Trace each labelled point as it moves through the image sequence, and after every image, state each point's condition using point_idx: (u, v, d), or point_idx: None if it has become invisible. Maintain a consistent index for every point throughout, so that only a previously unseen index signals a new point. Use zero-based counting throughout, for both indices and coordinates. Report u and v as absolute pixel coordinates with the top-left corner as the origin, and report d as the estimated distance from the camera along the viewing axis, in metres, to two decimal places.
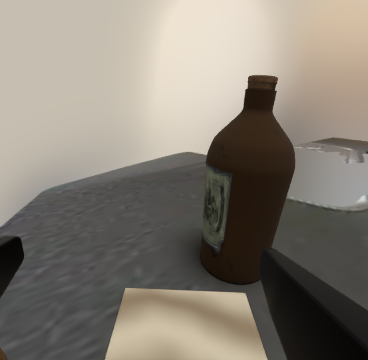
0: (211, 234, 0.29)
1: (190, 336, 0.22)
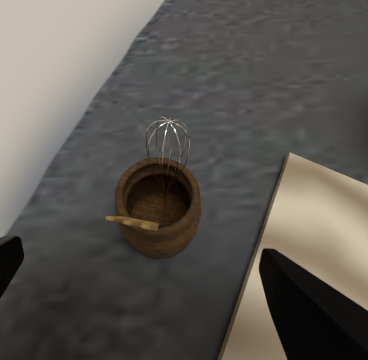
0: None
1: (357, 236, 0.19)
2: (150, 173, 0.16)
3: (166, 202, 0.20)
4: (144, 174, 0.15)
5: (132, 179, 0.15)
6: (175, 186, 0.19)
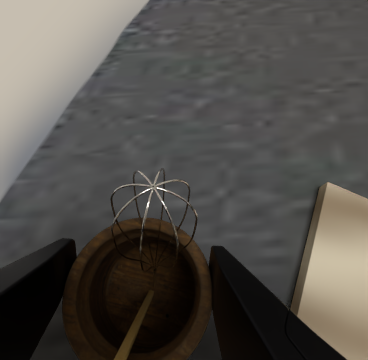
0: None
1: None
2: (131, 237, 0.10)
3: (160, 256, 0.14)
4: (121, 240, 0.10)
5: (100, 251, 0.09)
6: None
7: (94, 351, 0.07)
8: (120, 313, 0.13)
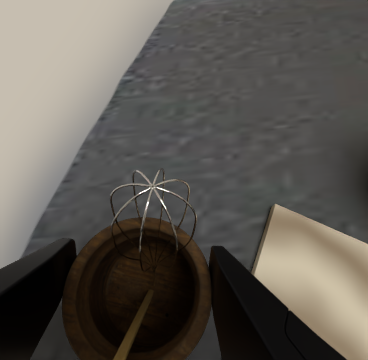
0: None
1: (340, 293, 0.20)
2: (131, 237, 0.10)
3: (160, 256, 0.14)
4: (121, 239, 0.10)
5: (100, 251, 0.09)
6: None
7: (94, 350, 0.07)
8: (120, 312, 0.13)
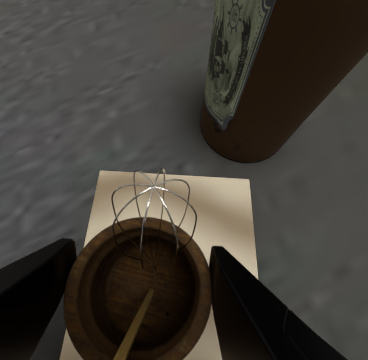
0: (216, 103, 0.19)
1: None
2: (131, 236, 0.10)
3: (160, 255, 0.15)
4: (122, 239, 0.10)
5: (101, 250, 0.09)
6: None
7: (95, 348, 0.07)
8: (120, 312, 0.13)
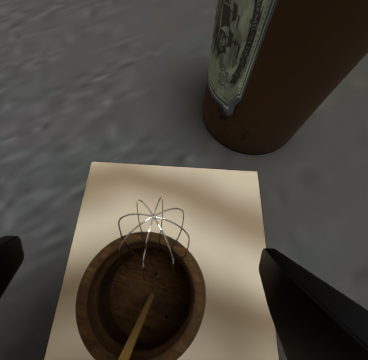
0: (221, 85, 0.17)
1: (176, 231, 0.17)
2: (134, 247, 0.11)
3: (160, 262, 0.16)
4: (125, 250, 0.11)
5: (107, 261, 0.10)
6: None
7: (103, 348, 0.08)
8: (123, 314, 0.14)
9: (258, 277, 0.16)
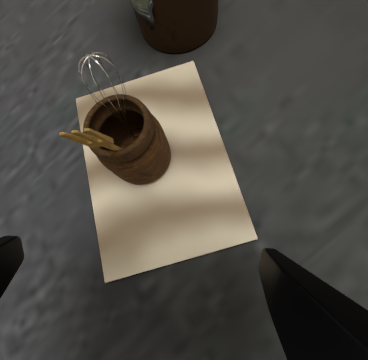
0: None
1: None
2: (109, 114, 0.18)
3: None
4: (104, 116, 0.18)
5: (96, 123, 0.18)
6: (141, 121, 0.21)
7: (104, 150, 0.16)
8: None
9: (209, 126, 0.23)
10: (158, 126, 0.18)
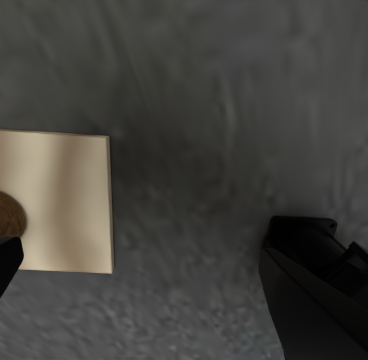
0: None
1: None
2: None
3: None
4: None
5: None
6: None
7: None
8: None
9: None
10: None
